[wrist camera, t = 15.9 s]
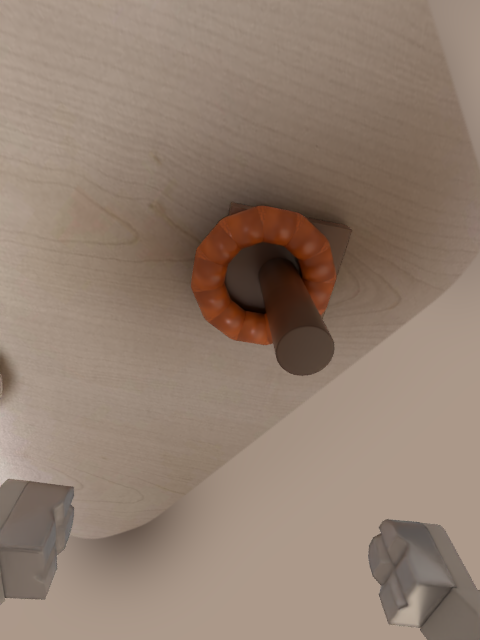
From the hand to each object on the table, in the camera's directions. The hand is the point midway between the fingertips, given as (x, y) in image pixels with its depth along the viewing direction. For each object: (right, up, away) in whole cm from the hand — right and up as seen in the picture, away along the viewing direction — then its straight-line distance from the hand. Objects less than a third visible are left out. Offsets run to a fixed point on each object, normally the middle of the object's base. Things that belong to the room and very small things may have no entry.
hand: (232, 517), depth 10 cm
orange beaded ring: (+2, +8, +18) cm, 20 cm away
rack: (+3, +9, +21) cm, 23 cm away
